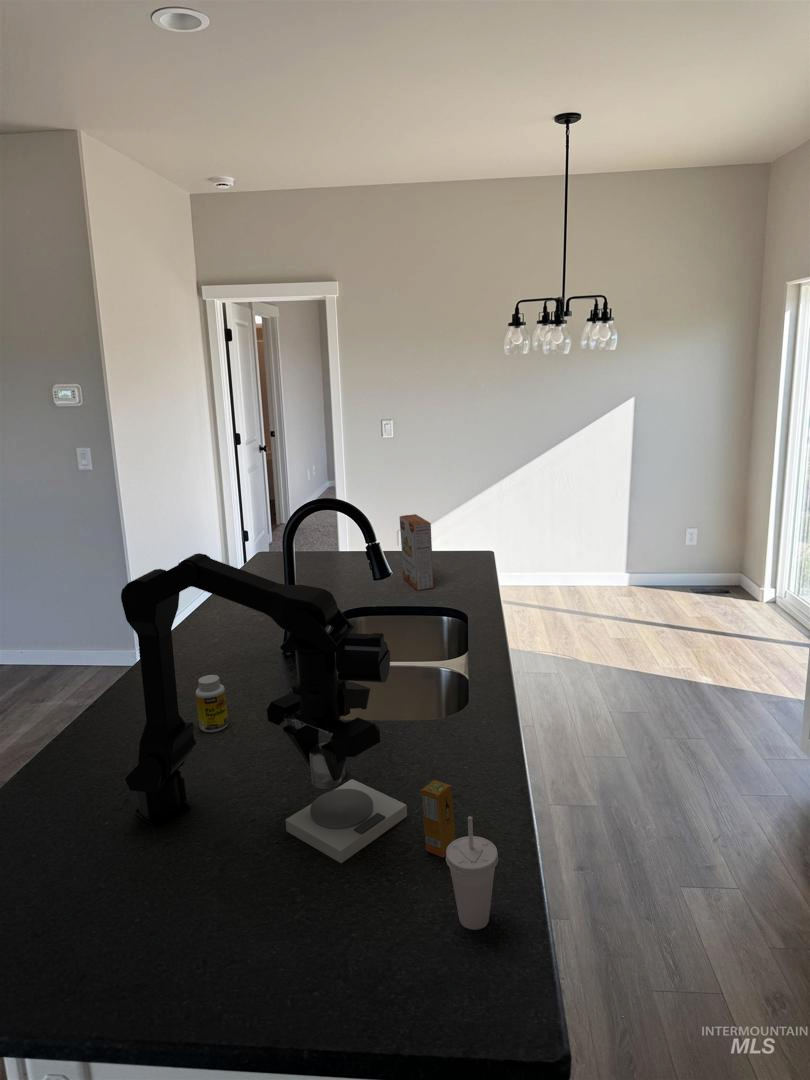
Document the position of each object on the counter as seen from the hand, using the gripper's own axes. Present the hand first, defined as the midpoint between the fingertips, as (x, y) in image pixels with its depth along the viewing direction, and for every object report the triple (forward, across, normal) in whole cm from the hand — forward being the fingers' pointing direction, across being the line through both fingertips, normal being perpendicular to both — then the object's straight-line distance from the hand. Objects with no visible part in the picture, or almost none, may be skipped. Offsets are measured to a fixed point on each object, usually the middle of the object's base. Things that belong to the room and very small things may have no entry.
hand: (325, 774), depth 111 cm
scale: (+9, -1, -2) cm, 10 cm away
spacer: (+1, 0, 0) cm, 1 cm away
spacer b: (+9, +11, -10) cm, 18 cm away
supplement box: (+9, -16, -6) cm, 20 cm away
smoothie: (+9, -28, +2) cm, 30 cm away
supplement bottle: (+10, +43, -8) cm, 45 cm away
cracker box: (+10, +71, -102) cm, 125 cm away
